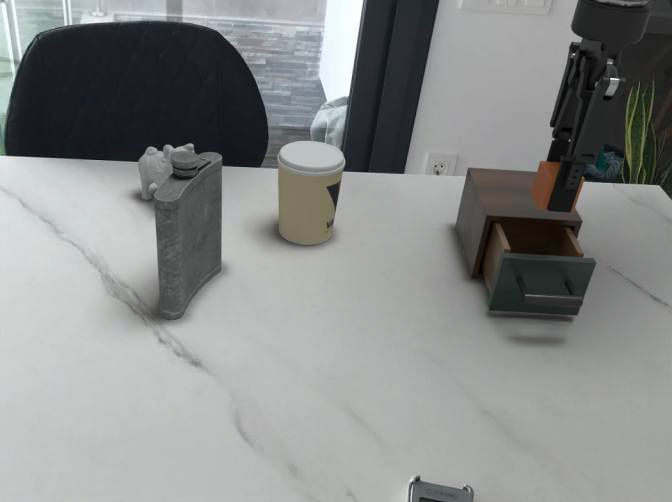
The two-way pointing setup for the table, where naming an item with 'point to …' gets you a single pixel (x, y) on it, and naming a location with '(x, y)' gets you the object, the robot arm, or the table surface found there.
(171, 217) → the flask
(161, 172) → the dog figurine
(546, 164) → the block
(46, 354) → the table surface
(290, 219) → the coffee cup
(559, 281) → the drawer
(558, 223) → the cabinet
